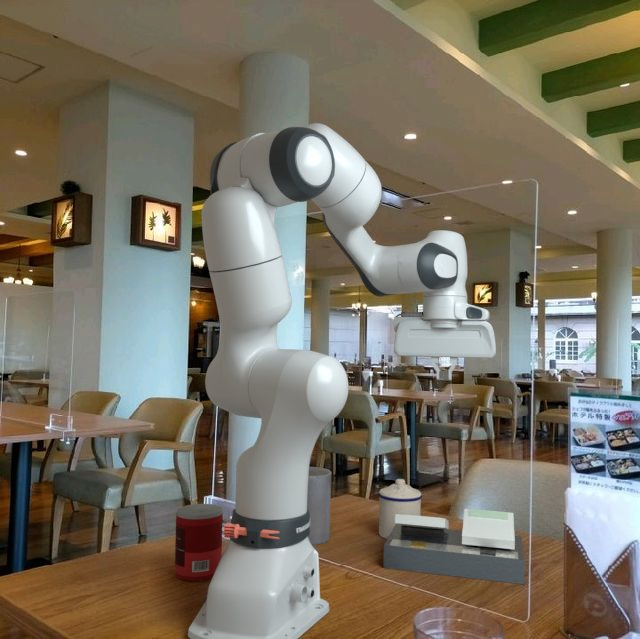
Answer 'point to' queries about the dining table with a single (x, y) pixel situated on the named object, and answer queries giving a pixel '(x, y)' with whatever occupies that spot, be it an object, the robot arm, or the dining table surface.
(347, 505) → the dining table surface
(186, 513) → the canned food
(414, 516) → the rocker
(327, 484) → the pillar candle
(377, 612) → the dining table surface
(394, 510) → the teacup with lid
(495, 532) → the rocker
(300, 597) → the robot arm
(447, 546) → the switch unit
